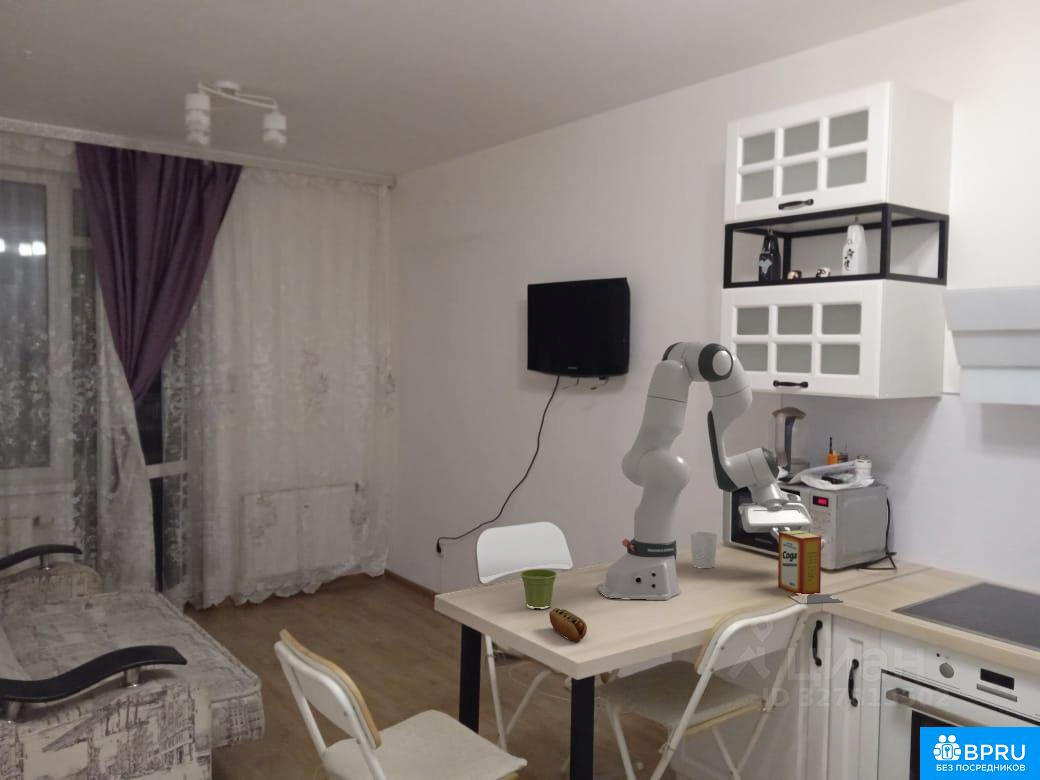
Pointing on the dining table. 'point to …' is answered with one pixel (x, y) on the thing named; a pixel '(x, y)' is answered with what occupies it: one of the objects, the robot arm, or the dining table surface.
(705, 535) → the white cup
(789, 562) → the baking soda box
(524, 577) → the plant pot
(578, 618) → the hot dog
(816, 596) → the mat
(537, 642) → the dining table surface
